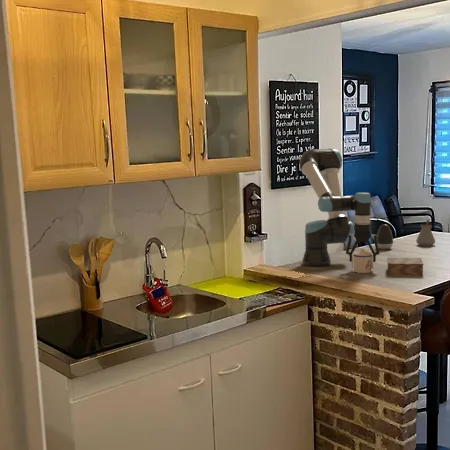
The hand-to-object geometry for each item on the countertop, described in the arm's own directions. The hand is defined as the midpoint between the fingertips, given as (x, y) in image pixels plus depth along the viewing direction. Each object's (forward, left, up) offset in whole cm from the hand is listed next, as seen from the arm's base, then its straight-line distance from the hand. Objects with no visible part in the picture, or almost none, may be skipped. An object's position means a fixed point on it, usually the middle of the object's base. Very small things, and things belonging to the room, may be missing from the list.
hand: (362, 268), depth 295 cm
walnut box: (+20, -2, -2) cm, 20 cm away
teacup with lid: (+1, 0, -2) cm, 2 cm away
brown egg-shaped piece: (+15, +72, -2) cm, 74 cm away
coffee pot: (+42, +90, -2) cm, 100 cm away
